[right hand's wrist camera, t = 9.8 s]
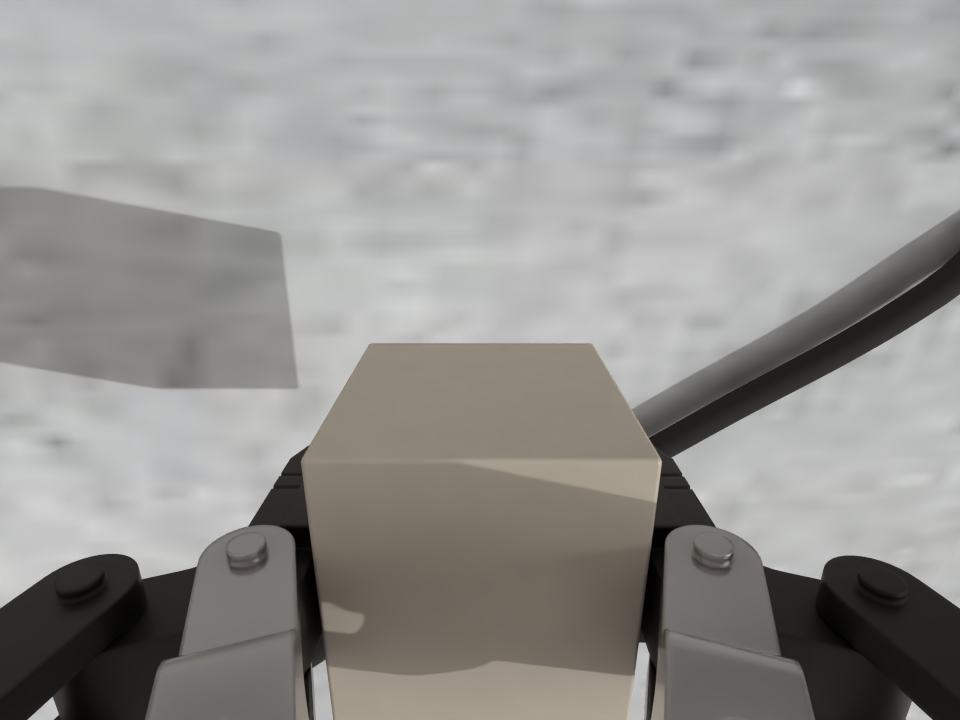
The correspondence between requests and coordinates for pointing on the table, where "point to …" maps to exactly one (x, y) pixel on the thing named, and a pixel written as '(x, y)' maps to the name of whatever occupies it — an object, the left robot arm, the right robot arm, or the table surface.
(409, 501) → the beige cube
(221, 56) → the table surface
